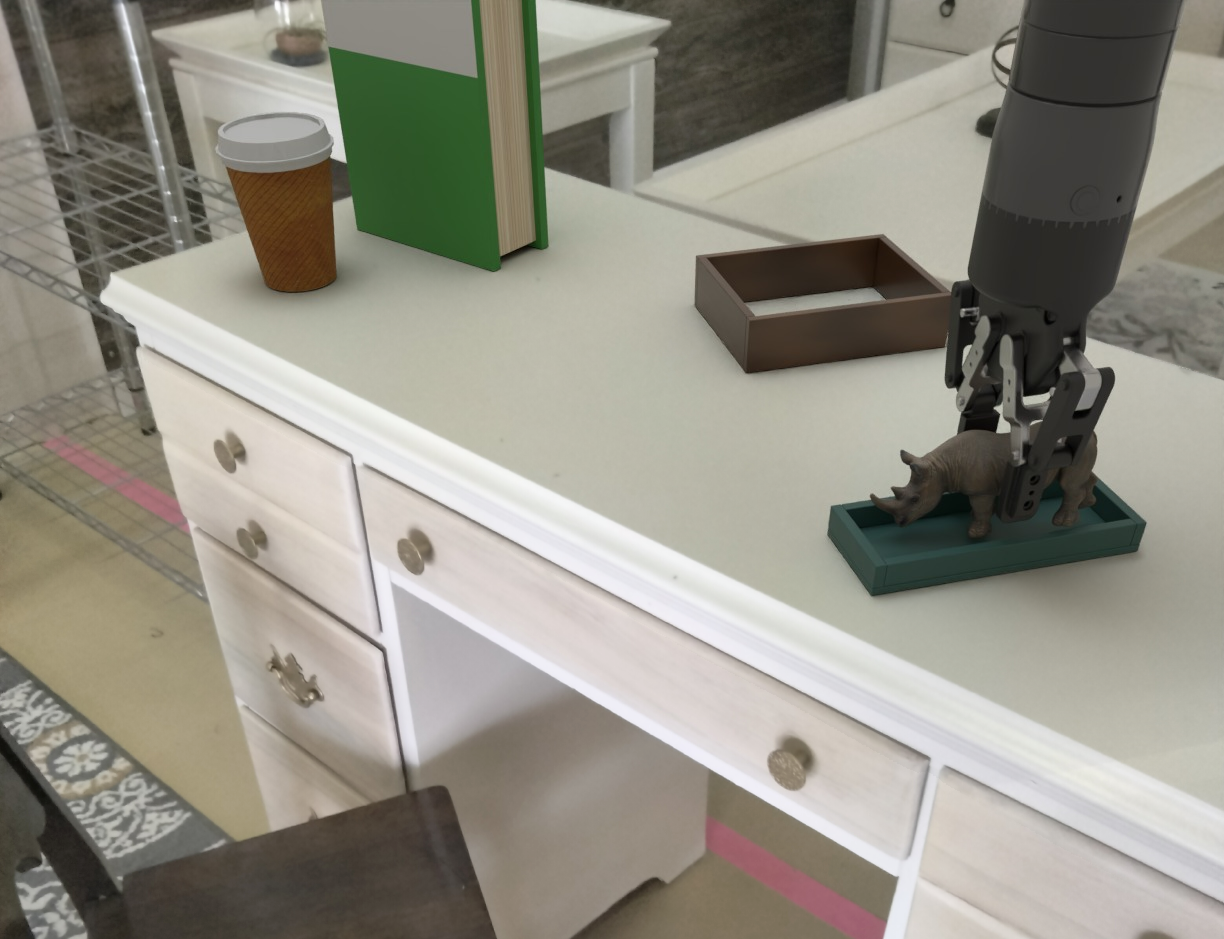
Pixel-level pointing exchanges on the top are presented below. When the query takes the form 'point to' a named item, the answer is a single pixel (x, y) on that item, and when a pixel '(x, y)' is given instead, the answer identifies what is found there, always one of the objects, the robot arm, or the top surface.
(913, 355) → the top surface
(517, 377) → the top surface
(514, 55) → the hardback book
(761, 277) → the open box
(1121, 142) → the robot arm
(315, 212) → the disposable coffee cup
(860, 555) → the tray
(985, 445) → the rhino figurine
